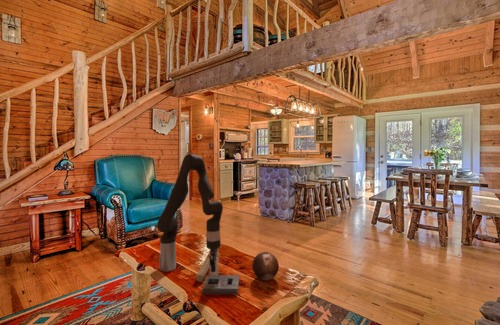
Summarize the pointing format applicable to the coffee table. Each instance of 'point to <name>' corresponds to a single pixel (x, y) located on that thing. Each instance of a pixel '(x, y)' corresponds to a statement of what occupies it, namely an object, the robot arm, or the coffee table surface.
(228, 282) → the socket plate
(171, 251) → the robot arm
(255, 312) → the coffee table surface
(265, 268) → the wooden sphere
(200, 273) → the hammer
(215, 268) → the block
